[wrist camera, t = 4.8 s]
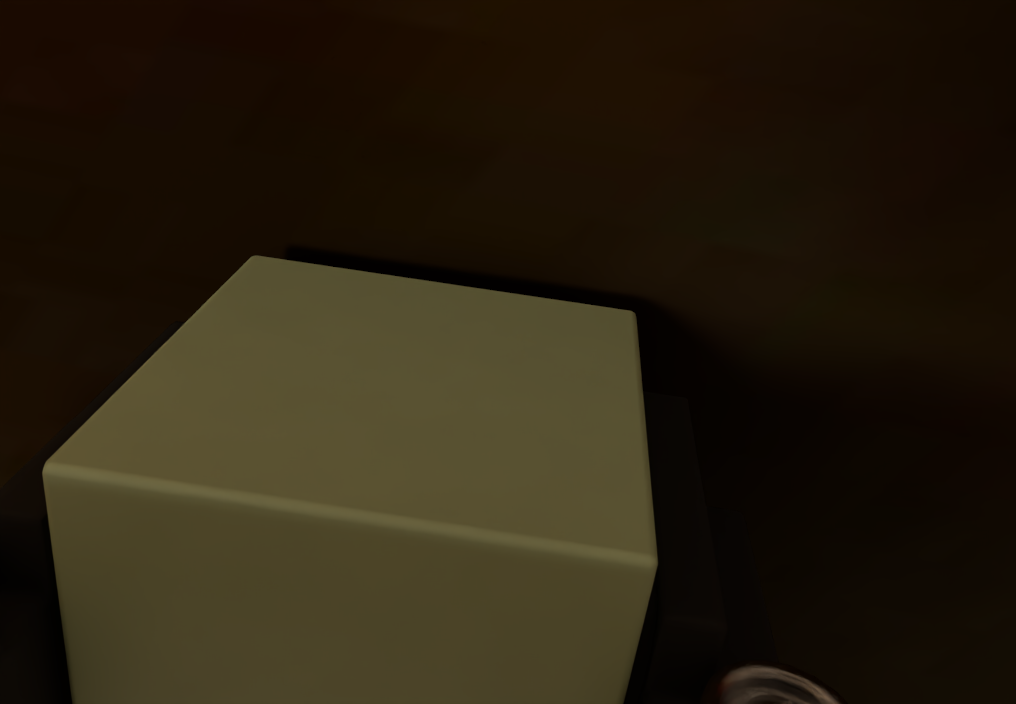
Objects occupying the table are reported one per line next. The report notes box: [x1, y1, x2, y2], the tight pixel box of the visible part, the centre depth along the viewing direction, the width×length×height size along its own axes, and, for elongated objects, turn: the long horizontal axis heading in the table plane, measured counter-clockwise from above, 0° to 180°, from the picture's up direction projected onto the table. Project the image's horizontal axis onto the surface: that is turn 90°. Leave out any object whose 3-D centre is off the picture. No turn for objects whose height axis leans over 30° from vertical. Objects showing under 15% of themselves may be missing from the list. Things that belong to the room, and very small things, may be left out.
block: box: [42, 256, 658, 704], centre depth 10 cm, size 5×5×5 cm
